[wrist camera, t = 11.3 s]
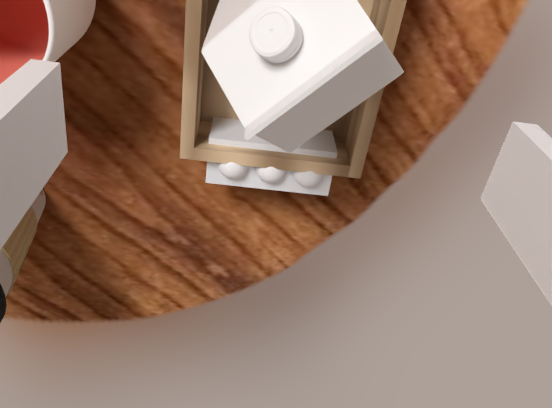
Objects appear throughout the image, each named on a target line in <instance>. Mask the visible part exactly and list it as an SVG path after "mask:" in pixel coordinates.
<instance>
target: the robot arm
mask: <svg viewBox="0 0 552 408" xmlns="http://www.w3.org/2000/svg"><path fill="white" fill-rule="evenodd" d="M67 152H68V149H67V137H66V126H65V114H64V103H63V91H62V80H61V68H60V63H58V62H50V61H43V60H35V59H30V60H29V61H28V62H27V63H26V64H24V65H23V66H22V67H21V68H19V69H18V70H17V71H16V72H15V73H13V74H12V75H11V76H10V77H9V78H7V79H6V80H5V81H4V82H2V83H1V84H0V250H1V248H2V247H3V245H4V244H5V243H6V241H7V240H8V238H9V237H10V235H11V234H12V232H13V231H14V229H15V228H16V227H17V225H18V224H19V222H20V221H21V219H22V218H23V216H24V215H25V213H26V212H27V211H28V209H29V208H30V206H31V205H32V203H33V202H34V200H35V199H36V197H37V196H38V195H39V193H40V192H41V190H42V189H43V187H44V186H45V184H46V183H47V181H48V180H49V179H50V177H51V176H52V174H53V173H54V171H55V170H56V168H57V167H58V165H59V164H60V163H61V161H62V160H63V158H64V157H65V155H66V154H67ZM480 200H481V201H482V203H483V204H484V206H485V207H486V209H487V210H488V212H489V213H490V215H491V216H492V218H493V219H494V221H495V222H496V224H497V225H498V227H499V228H500V230H501V231H502V233H503V234H504V236H505V237H506V239H507V240H508V242H509V243H510V244H511V246H512V248H513V249H514V251H515V252H516V254H517V255H518V257H519V258H520V260H521V261H522V263H523V264H524V266H525V267H526V269H527V270H528V272H529V273H530V275H531V276H532V278H533V279H534V281H535V282H536V284H537V285H538V287H539V288H540V290H541V292H542V293H543V294H544V296H545V298H546V299H547V301H548V302H549V303H550V305H551V307H552V138H551V137H550V136H549V135H548V134H547V133H546V132H544V131H543V130H542V129H541V128H540V127H539V126H538V125H536V124H528V123H520V122H513V123H512V125H511V127H510V130H509V132H508V134H507V137H506V139H505V141H504V144H503V146H502V148H501V151H500V153H499V155H498V158H497V160H496V162H495V165H494V167H493V170H492V172H491V174H490V177H489V179H488V181H487V183H486V186H485V188H484V190H483V193H482V195H481V198H480Z"/></svg>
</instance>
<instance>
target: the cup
mask: <svg viewBox="0 0 552 408" xmlns="http://www.w3.org/2000/svg"><path fill="white" fill-rule="evenodd" d="M95 5H96V0H0V84H1V83H2V82H4V81H5V80H6V79H7V78H9V77H10V76H11V75H12V74H13V73H15V72H16V71H17V70H18V69H19V68H21V67H22V66H23V65H24V64H26V63H27V62H28V61H29V60H30V59H35V60H43V61H50V62H55V61H56V60H58V59H59V58H60V57H61V56H62V55H63V54H64V53H65V52H66V51H67V50H69V49H70V48H71V47H72V46H73V45H74V44H75V43H76V42H77V41H78V40H79V39H80V38H81V37H82V36H83V35H84V34H85V32H86V31H87V29H88V27H89V26H90V24H91V21H92V19H93V16H94V11H95Z"/></svg>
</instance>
